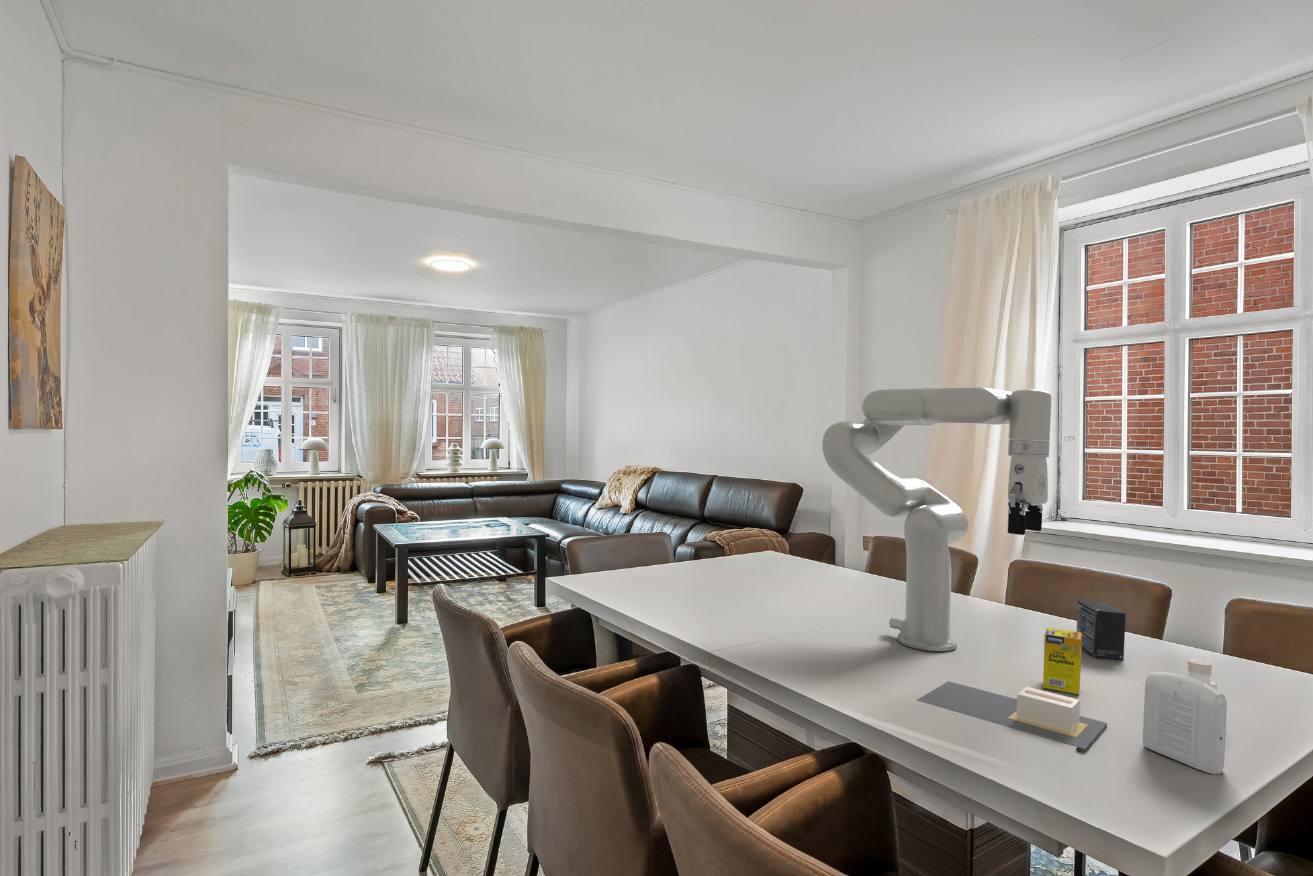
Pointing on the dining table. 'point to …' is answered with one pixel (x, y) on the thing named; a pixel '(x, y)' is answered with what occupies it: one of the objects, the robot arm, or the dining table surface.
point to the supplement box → (1062, 661)
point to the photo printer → (1185, 720)
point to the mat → (1009, 714)
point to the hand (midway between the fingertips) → (1024, 532)
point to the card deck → (1048, 709)
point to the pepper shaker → (1200, 671)
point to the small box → (1101, 629)
